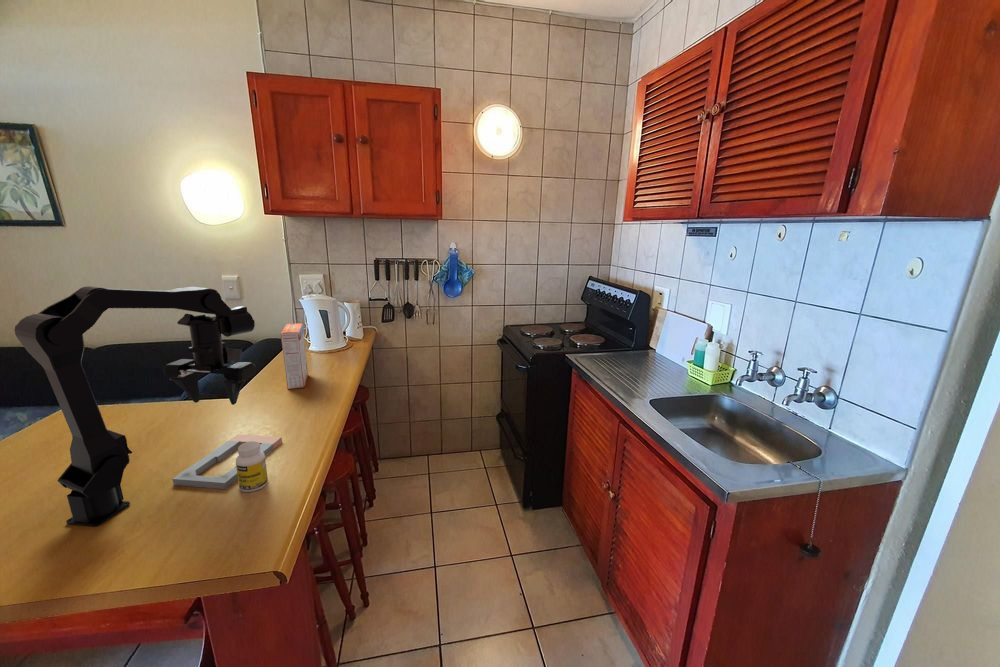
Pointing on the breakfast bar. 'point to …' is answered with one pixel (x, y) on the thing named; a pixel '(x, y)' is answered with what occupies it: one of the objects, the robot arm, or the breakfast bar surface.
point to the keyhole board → (217, 455)
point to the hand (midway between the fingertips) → (215, 403)
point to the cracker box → (294, 355)
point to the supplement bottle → (251, 467)
